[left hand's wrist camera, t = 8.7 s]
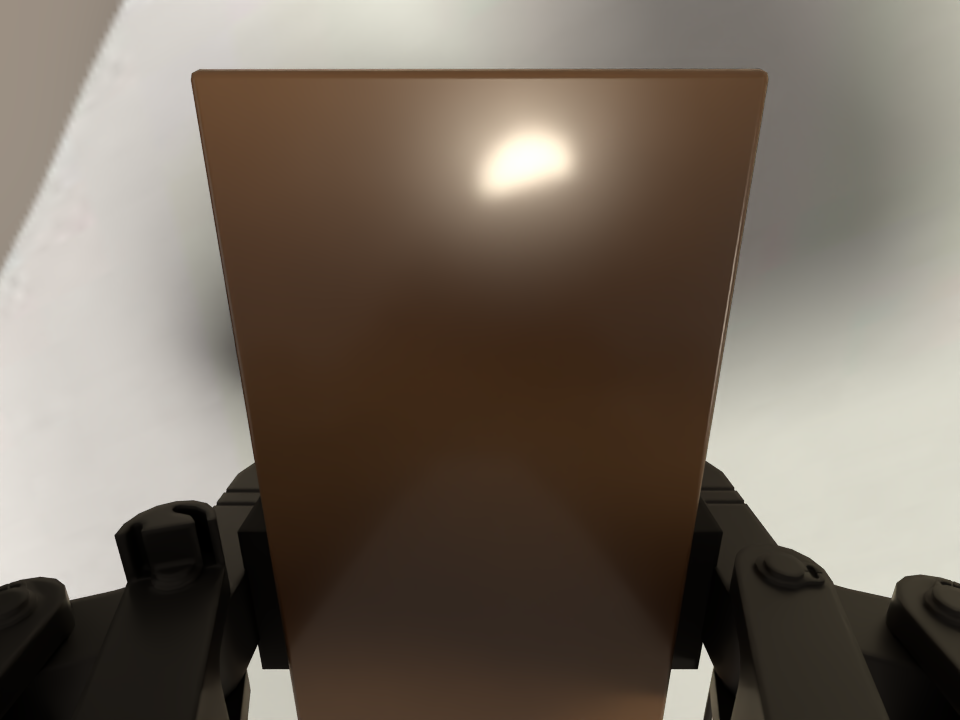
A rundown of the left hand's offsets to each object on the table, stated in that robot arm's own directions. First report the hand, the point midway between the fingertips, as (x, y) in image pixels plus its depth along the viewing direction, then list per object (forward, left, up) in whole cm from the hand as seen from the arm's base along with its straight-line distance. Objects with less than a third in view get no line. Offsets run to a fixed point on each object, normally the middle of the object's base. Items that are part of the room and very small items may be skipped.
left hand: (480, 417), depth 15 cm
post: (+27, +20, -1) cm, 33 cm away
